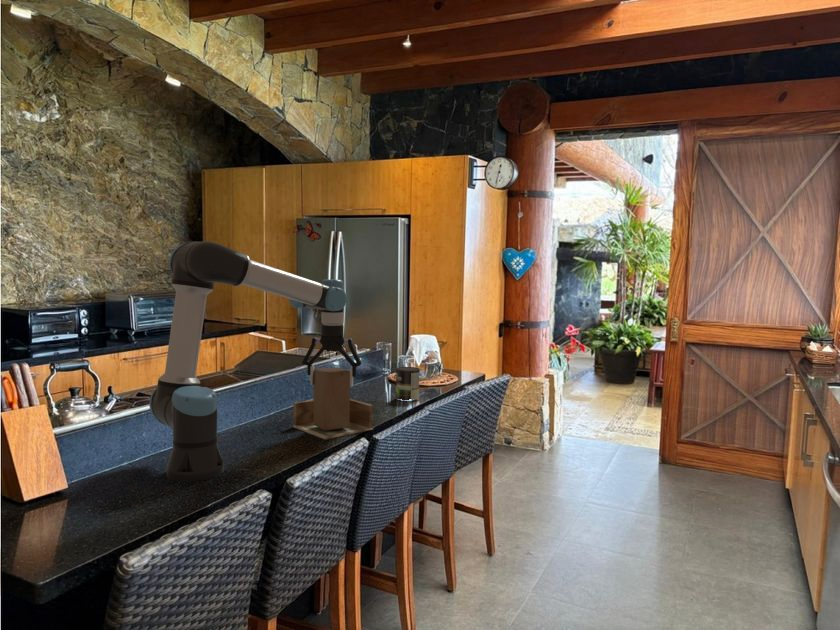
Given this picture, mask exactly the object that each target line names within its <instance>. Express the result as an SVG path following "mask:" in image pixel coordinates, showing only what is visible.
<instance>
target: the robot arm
mask: <svg viewBox="0 0 840 630" xmlns="http://www.w3.org/2000/svg"><path fill="white" fill-rule="evenodd" d="M168 266H169V270H170V271H171V274H172V277H171V278H172V279H171V286H172V288H173V289H174V291H175V298H174V303H173V310H172V311H173V312H172V318H171V324H170V325H171V327H170V332H169V340H168V347H167V355H166V362H165V370H164V373H163V374H162V375H161V376H159V377H158V378H157V386H156V388H155V389H154V390H153V392H151V395H150V397H149V402H148V404H149V409H150V412H151V415H152V416H153V418H155V419H156V420H157V421H158V422H159V423H160V424H163V426H164V425H165V426H168V427H170V428H172V448H171V452H170V455H169V457H168V461H167V464H166V467H165V468H166V469H165V470H166V471H165V472H166V473H165V474H166V478H168V480H171V481H174V482H175V481H176V482H182V481H183V483H184V482H189V481H192V482H200V481H206V479H207V480H210V479H214V478H216V476H217V477H218V475H219V476H221V475H222V474H223V473H224V471H225V462H224V460H223V457H222V454H221V451H220V448H219V445H218V407H219V405H218V404H219V403H218V397H217V392H216V391H215V390H213V389H212V388H210V387H206V386H201V381H200V379H199V378H198V377H197V370H198V362H199V355H200V349H201V348H200V347H201V341H202V333H203V328H204V327H203V325H204V319H205V312H206V305H207V300H208V299H207V298H208V297H207V296H208V295H209V294H210V293H212V292H213V291H214V285H215V283H216V284H225V285H228V286H229V285H230V286H234V287H240V286H241V285H242V286H245V287H249V288H252V289H256V290H259V291H261V292H266V293H268V294H273V295H276V296H279V297H283V298H285V299H288V300H289V304H290V306H291V307H292V308H294V309H301V310H302V309H313V310H321V317H320V318H321V321H320V322H321V323H322V325H321V328H320V329H321V333H320V334H321V337H320V338H318V337H313V338H312V339H311V343H310V344H311V345H310V346H309V348H308V350H307V352H306V354H305V356H304V358H303V360H302V362H301V363H302V365H305V366H306V367H307V376H310V377H309V378H310V382H309V383H310V384H309V385H310V386H314V370H315V365H313V364H314V363H315V362H316V361H317V360H318V359H319V357H320V356H321V355H322V354H323V353H324V352H325V351H326V352H339V353H340V354H341V355H342V356H343V357H344V358H345V360H346V361H347V362H348V363H349V365H350V367H349V372H350V388H351V387H353V386H354V377H356V375H357V367H360V366H361V365H362V363H363V362H362V360H361V358H360V357H359V354H358V352H357V350H356V348H355V345H354V341H353V338H351V337H350V338H346V339H345V337H344V325H343V324H344V313H345V311H344V308H345V306H346V304H347V299H348V298H347V293H346V292H345V285H344V282H343V280H342V279H328V278H327V279H322V281H321V283H320V282H318V281H316V280H315V281H314V280H311V279H309V278H306V277H303V276H300V275H297V274H294V273H291V272H289V271H286V270H282V269H279V268H277V267H273V266H270V265H268V264H264V263H261V262H258V261H256V260H252V259H250V257H249V256H248V254H246V253H242V252H240V251H237V250H235V249H233V248H230V247H227V246H225V245H223V244H220V243H218V242H214V241H208V240H206V241H188V242H187V241H186V242H184V243H182V244H179V245H178V246H176V247H175V248H174V249H173V251H172V252H171V253H170V256H169V258H168ZM319 343H320V344H321V348H320V349H319V350H318V351H317V352H316V354H314V355H313V357H312V358H311V359H310V357H311V355H312V354H313V352H314V350H315V347H316V346H317V345H318V344H319ZM344 344H345V345H346V346H348V348H349V351H350V352H351V354H352V356H353V358H352V357H351V355H350V354H349V353H348V352H347V351H346V349H345V348H344V347H343V345H344ZM221 473H222V474H221ZM220 474H221V475H220ZM199 480H200V481H199Z"/></svg>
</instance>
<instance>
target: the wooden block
mask: <svg viewBox="0 0 840 630" xmlns="http://www.w3.org/2000/svg"><path fill="white" fill-rule="evenodd" d="M350 394H351V387H350V370H347V369H343V368H340V367H321V368H314V385H313V400H314V407H313V423H314V425H315V426H317V427H319V428H321V429H322V430H334V429H342V428H348V427H349V414H350V399H351V398H350V397H351V395H350Z"/></svg>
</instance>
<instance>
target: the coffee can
mask: <svg viewBox="0 0 840 630" xmlns="http://www.w3.org/2000/svg"><path fill="white" fill-rule="evenodd" d="M395 371H396V372H395V399H396V398H397V399H402V400H409V399H418V398H420V371H421V369H420V368H419V367H416V366H400V367H399V366H398V367H396V368H395Z"/></svg>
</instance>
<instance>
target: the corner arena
mask: <svg viewBox="0 0 840 630" xmlns="http://www.w3.org/2000/svg"><path fill="white" fill-rule="evenodd" d="M313 407H314V399H309V400H301V401H297V402H293V428H295V429H297V430H300V431H302V432H305V433H307V434H310V435H313V436H315V437H318V438H320V439H323V440H330V439H333V438H338V437H343V436H349V435H353V434H358V433H363V432H367V431H372V430H374V405H373V404H372V403H371V404H370V403H367V402H363V401H359V400H356V399H353V398H350V414H349V427H348V428H342V429H334V430H322V429H321V428H319V427H317V426H315V425H314V423H313Z"/></svg>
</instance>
